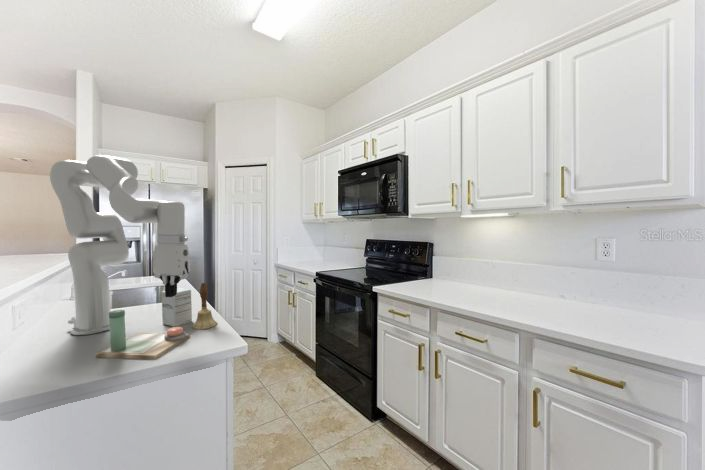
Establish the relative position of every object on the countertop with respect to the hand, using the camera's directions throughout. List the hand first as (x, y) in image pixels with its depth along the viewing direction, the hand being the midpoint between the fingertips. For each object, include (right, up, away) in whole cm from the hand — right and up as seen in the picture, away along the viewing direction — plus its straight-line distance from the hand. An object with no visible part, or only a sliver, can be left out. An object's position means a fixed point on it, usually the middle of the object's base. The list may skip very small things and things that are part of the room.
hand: (171, 296), depth 99 cm
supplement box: (-8, -14, +17) cm, 23 cm away
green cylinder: (-10, -14, -9) cm, 19 cm away
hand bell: (+4, -14, +14) cm, 20 cm away
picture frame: (-5, -15, -4) cm, 16 cm away
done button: (+1, -12, 0) cm, 12 cm away
